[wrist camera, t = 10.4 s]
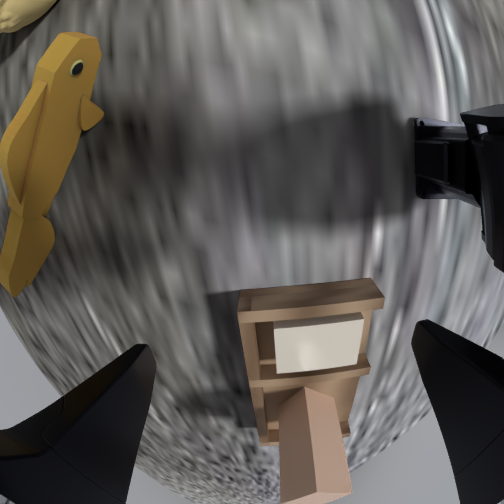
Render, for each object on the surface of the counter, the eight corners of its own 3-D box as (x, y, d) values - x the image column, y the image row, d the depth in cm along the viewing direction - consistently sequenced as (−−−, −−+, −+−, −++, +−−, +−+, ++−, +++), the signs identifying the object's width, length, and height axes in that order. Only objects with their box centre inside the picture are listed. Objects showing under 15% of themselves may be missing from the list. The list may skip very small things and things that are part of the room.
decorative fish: (112, 35, 13) (9, 31, 5) (140, 45, 14) (33, 37, 5) (54, 234, 25) (-3, 287, 17) (72, 249, 25) (16, 306, 17)
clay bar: (304, 386, 25) (317, 492, 14) (333, 398, 26) (352, 492, 14) (278, 406, 26) (280, 503, 15) (307, 416, 27) (316, 505, 16)
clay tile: (357, 305, 21) (364, 319, 19) (351, 349, 23) (356, 364, 21) (272, 313, 21) (273, 328, 20) (276, 357, 23) (276, 373, 21)
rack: (370, 278, 21) (384, 297, 18) (344, 417, 29) (349, 436, 26) (240, 289, 22) (236, 312, 19) (261, 426, 30) (260, 446, 27)
